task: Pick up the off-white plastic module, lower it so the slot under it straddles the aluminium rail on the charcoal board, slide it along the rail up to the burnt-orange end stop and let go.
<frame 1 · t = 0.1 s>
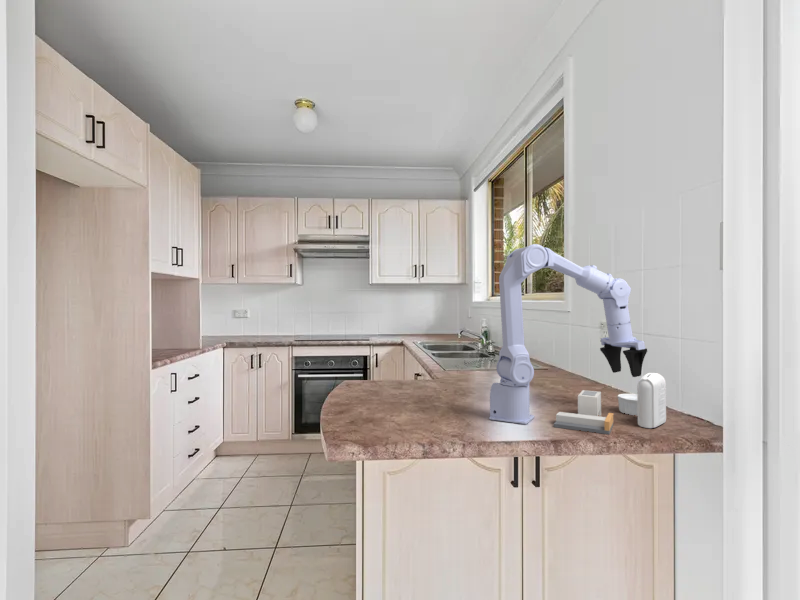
hand: (626, 374, 118), 11 cm above the table, tool pointing down, fingers open, 7 cm apart
photo printer: (652, 425, 108), on the table
module: (589, 416, 115), on the table
rail mount: (583, 426, 106), on the table
ramekin: (635, 413, 119), on the table
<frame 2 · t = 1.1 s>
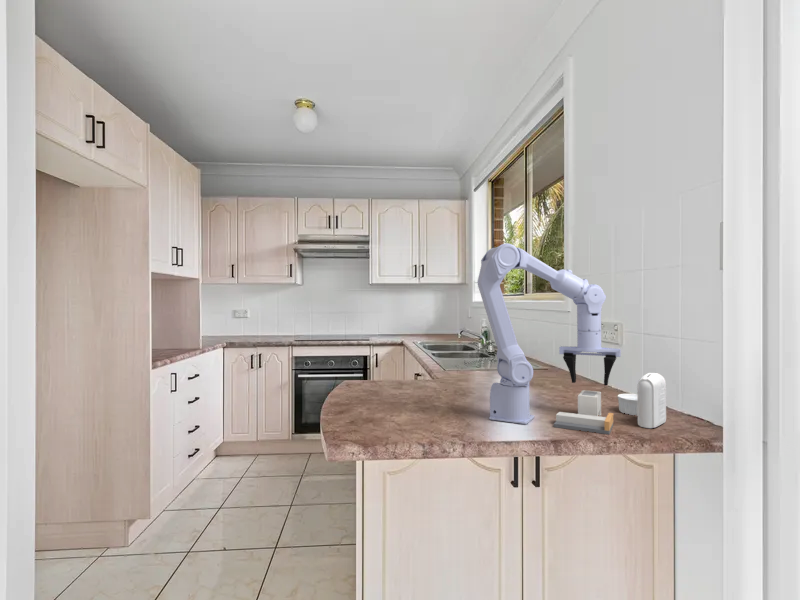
hand: (589, 383, 115), 9 cm above the table, tool pointing down, fingers open, 7 cm apart
nothing on the table moved.
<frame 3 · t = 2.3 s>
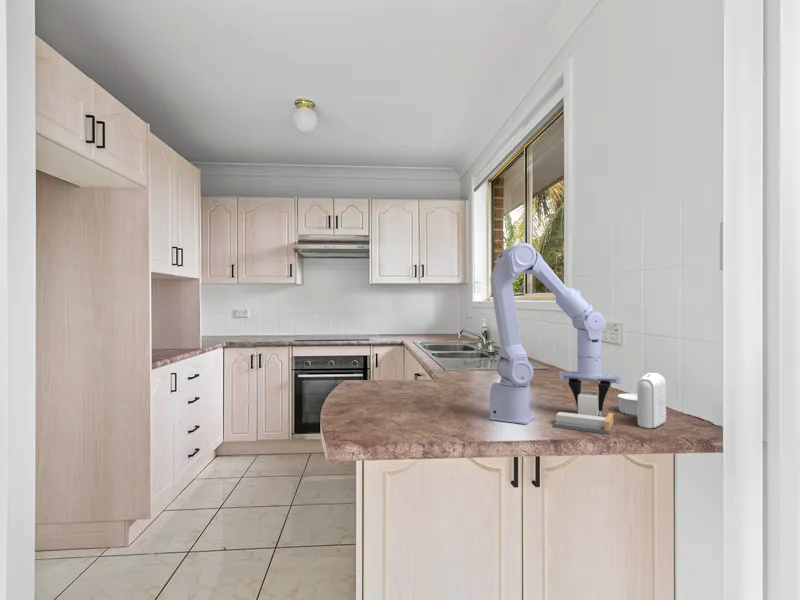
hand: (589, 409, 115), 2 cm above the table, tool pointing down, fingers closed on module, 4 cm apart
module: (589, 416, 115), on the table, touching gripper
everything else where it was.
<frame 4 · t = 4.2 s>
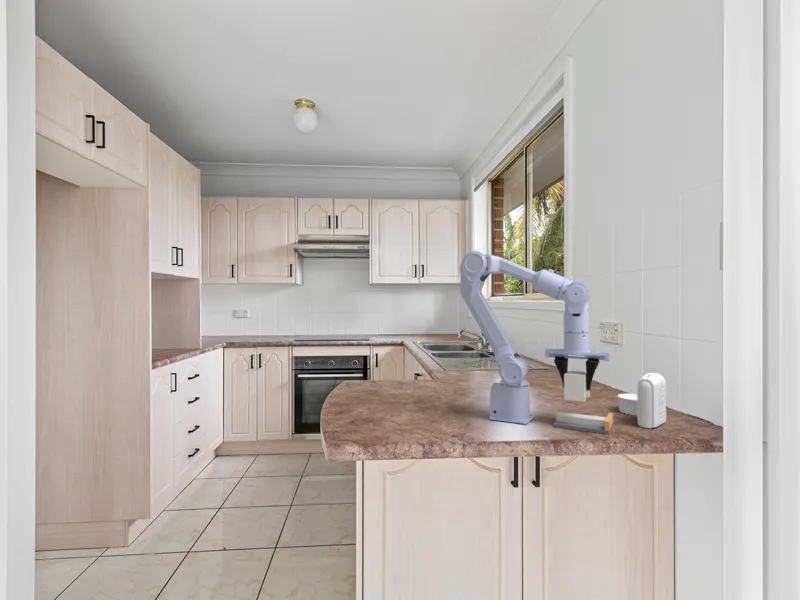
hand: (576, 389, 107), 9 cm above the table, tool pointing down, fingers closed on module, 4 cm apart
module: (577, 397, 107), point 6 cm above the table, touching gripper
everything else where it was.
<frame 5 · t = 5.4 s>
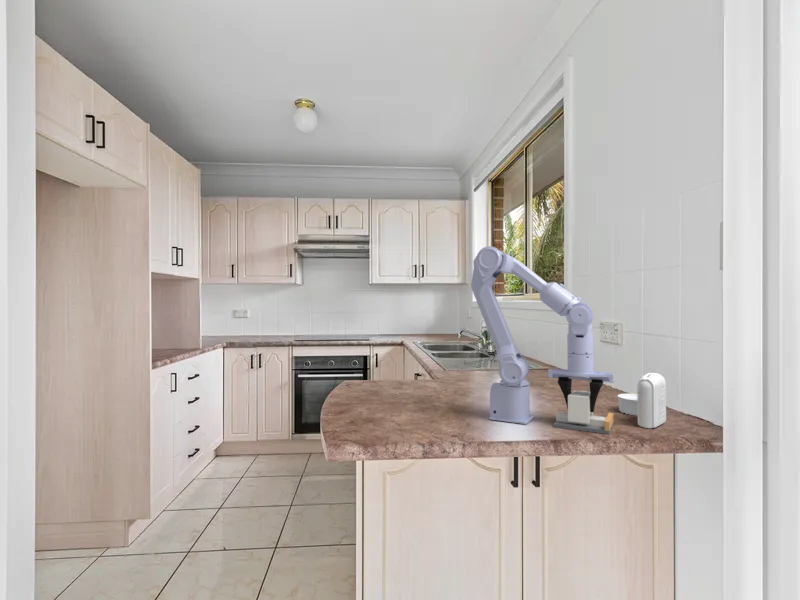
hand: (580, 410, 107), 4 cm above the table, tool pointing down, fingers closed on module, 4 cm apart
module: (580, 418, 107), point 2 cm above the table, touching gripper
everything else where it was.
when the fingers open (4 cm above the table, at t = 6.5 s): module stays where it is, resting on rail mount.
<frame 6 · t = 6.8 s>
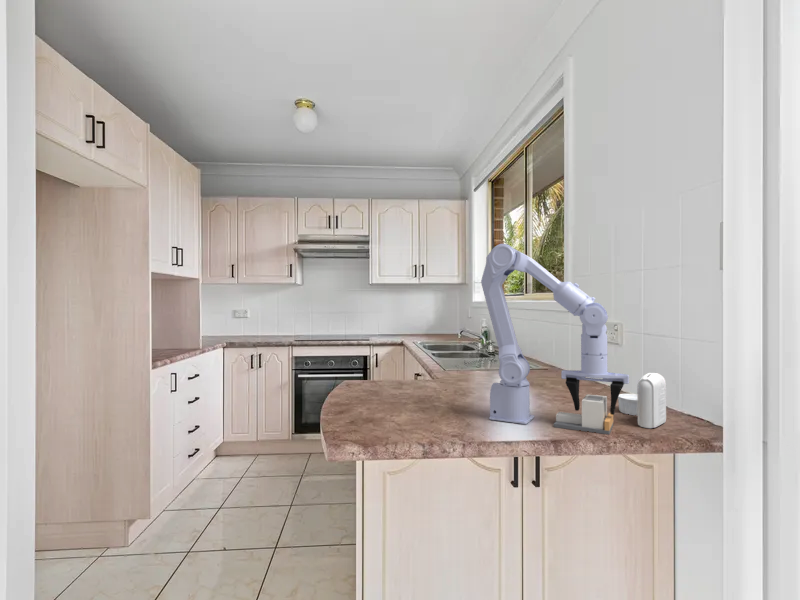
hand: (594, 411, 105), 4 cm above the table, tool pointing down, fingers open, 7 cm apart
module: (594, 423, 105), point 1 cm above the table, touching rail mount
everything else where it was.
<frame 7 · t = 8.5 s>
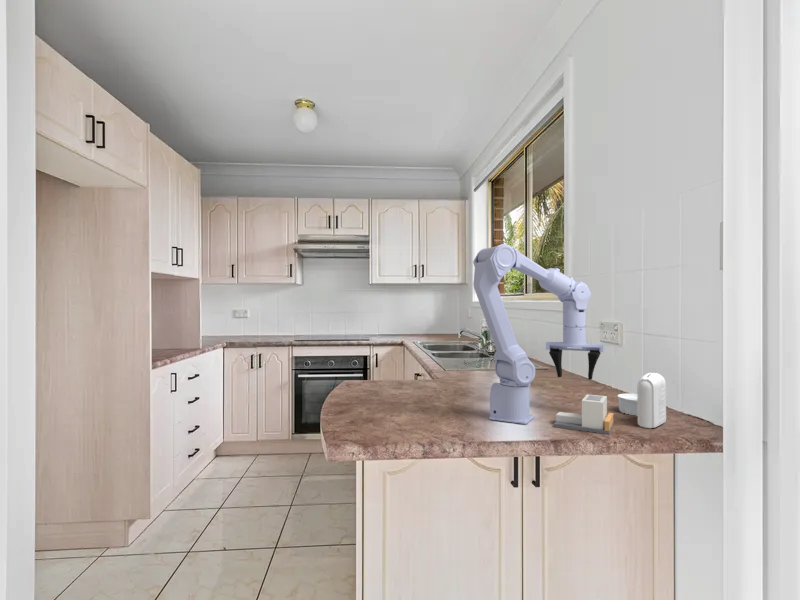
hand: (574, 377, 119), 9 cm above the table, tool pointing down, fingers open, 7 cm apart
nothing on the table moved.
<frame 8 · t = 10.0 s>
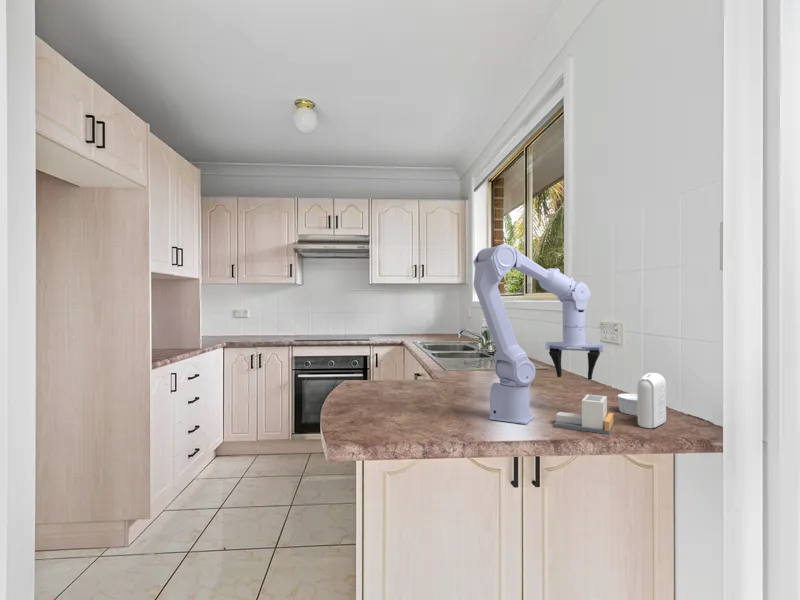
hand: (574, 377, 119), 9 cm above the table, tool pointing down, fingers open, 7 cm apart
nothing on the table moved.
at the end: module 0.3 cm from the target spot on the rail mount, point 0.8 cm above the rail mount's base; module tilted 0° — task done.
